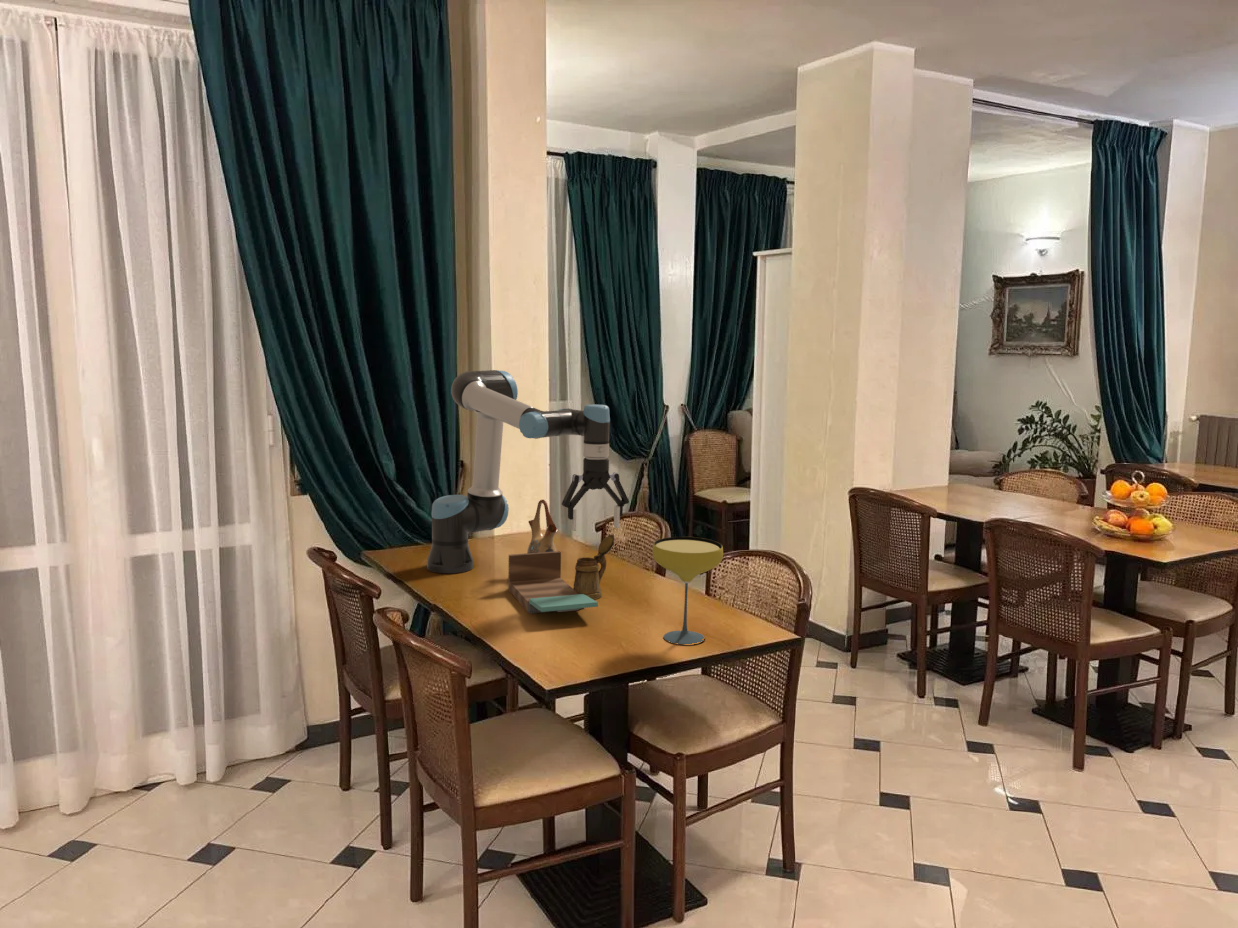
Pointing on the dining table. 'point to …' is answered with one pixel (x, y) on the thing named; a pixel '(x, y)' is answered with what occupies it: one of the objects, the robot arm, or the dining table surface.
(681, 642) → the cocktail glass
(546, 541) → the ceramic vessel
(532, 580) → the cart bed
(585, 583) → the wooden mug
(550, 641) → the dining table surface
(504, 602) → the dining table surface
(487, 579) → the dining table surface
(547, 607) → the panel
